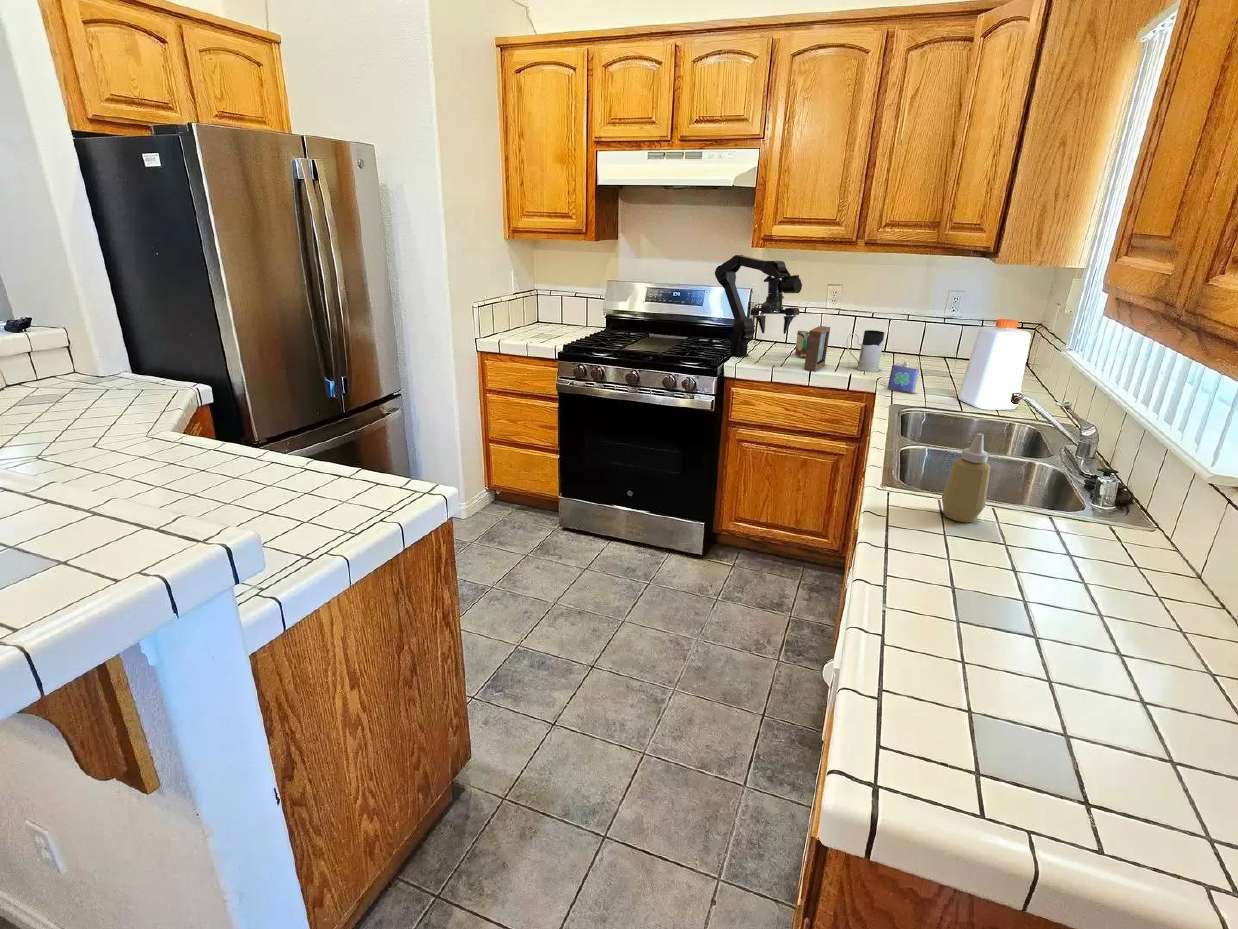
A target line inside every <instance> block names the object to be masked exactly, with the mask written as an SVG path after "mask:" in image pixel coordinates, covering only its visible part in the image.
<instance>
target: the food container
mask: <svg viewBox="0 0 1238 929" xmlns="http://www.w3.org/2000/svg"><path fill="white" fill-rule="evenodd" d="M809 332H810V331H808V330H800V329H799V330H797V333H796V344H795V352H794V354H795V355H796V356H797V357H799V358H800V359H806V355H805V351H806V344H807V337H808V336H809Z"/></svg>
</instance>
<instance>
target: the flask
mask: <svg viewBox="0 0 1238 929" xmlns="http://www.w3.org/2000/svg"><path fill="white" fill-rule="evenodd" d="M909 363H910V361H909V360H908V361H907V360H905V361H904V363H899V362H897V363H893V364H892V366H891V368H890V374H889V379H888V384H887V390H890V391H894V392H901V393H907V394H915V392H916V386H917V382H918V376H919V373H920V368H919V367H915V366H909Z"/></svg>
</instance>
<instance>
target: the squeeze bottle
mask: <svg viewBox="0 0 1238 929" xmlns="http://www.w3.org/2000/svg"><path fill="white" fill-rule="evenodd" d="M984 436H985V434H984V433H979V432H978V433H976V434H975V437H974V438H973V440H972V442H971V444H970V446H969V447H965V448H963V449H962V451H961V456H960V457H958V458H956V459H955V460H954V461H953V464H952V467H951V469H950V473H949V475H948V477H947V481H946V483H945V486H944V489H943V491H942V494H941V503H942V509H943V515H944V516H945V517H947V518H948V519H950V520H953V521H955V522H960V523H972V522H975V521H976V520H977V518H978V517H979V516H980V514H981V513H982V511H983V510H984V509H985V508H986V502H987V496H988V489H989V482H990V476H991V465H990V464H989V463H988V459H989V456H990V455H989V452H987V451H986V450H984V440H985V438H984Z"/></svg>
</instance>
